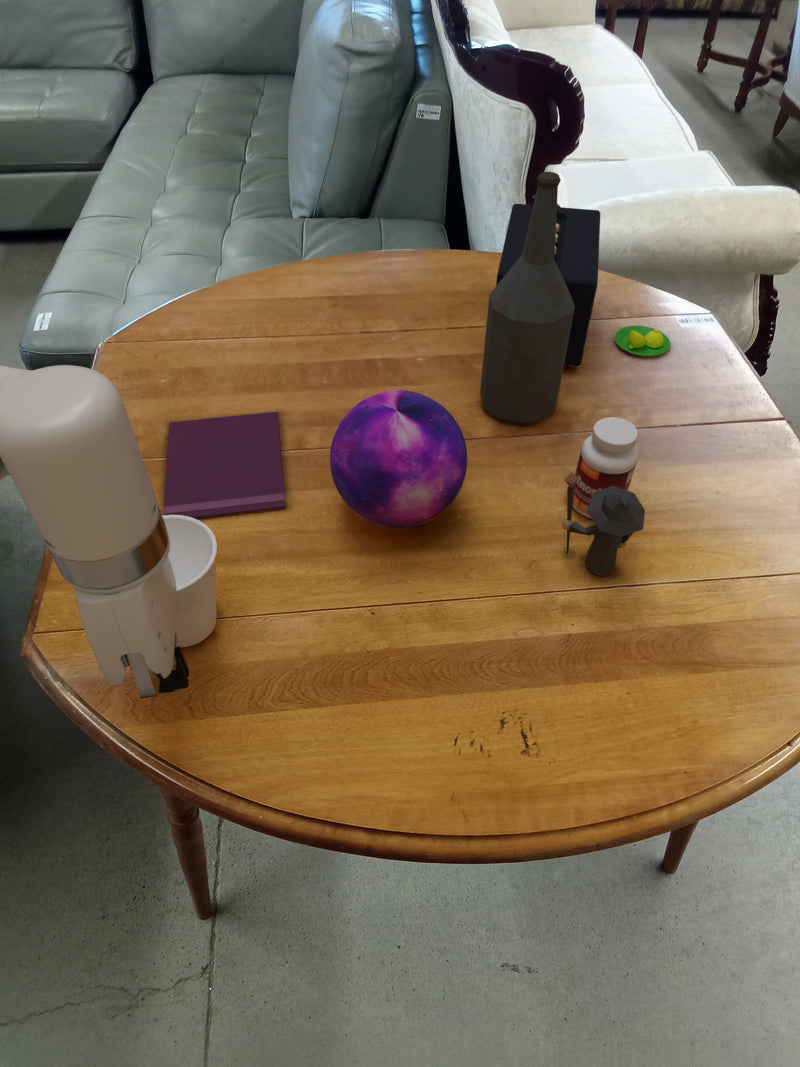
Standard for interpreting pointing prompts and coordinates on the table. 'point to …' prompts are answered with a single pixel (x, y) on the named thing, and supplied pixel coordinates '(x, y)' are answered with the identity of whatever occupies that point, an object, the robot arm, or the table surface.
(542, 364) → the bottle
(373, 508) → the decorative orb
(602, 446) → the pill bottle
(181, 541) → the cup
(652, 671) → the table surface
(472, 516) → the table surface
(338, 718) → the table surface
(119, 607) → the robot arm
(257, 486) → the book
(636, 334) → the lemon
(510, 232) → the speaker
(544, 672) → the table surface
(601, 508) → the wizard figurine
